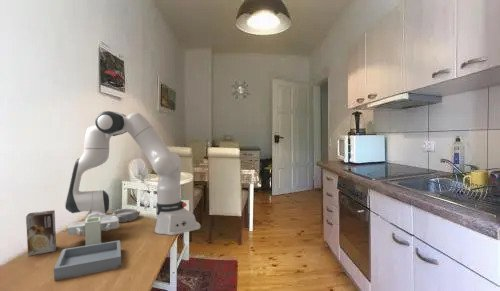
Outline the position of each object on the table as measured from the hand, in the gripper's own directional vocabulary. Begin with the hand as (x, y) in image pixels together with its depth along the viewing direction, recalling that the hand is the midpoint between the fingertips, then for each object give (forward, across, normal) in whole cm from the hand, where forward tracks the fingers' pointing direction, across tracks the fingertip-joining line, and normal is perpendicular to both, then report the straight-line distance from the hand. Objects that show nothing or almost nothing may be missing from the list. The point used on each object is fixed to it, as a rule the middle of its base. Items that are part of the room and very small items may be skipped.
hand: (93, 231), depth 119 cm
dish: (-39, +14, +8) cm, 42 cm away
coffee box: (-6, -19, +7) cm, 21 cm away
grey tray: (+17, 0, +7) cm, 18 cm away
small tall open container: (0, 0, +7) cm, 7 cm away
